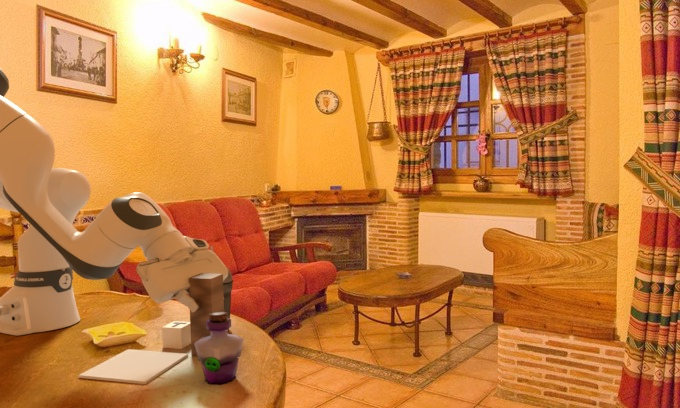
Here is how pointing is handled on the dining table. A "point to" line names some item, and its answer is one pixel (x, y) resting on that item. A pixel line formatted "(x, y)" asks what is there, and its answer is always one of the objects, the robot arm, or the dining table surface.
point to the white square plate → (134, 366)
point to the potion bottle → (219, 350)
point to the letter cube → (176, 335)
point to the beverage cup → (227, 291)
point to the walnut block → (204, 303)
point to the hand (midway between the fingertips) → (209, 305)
